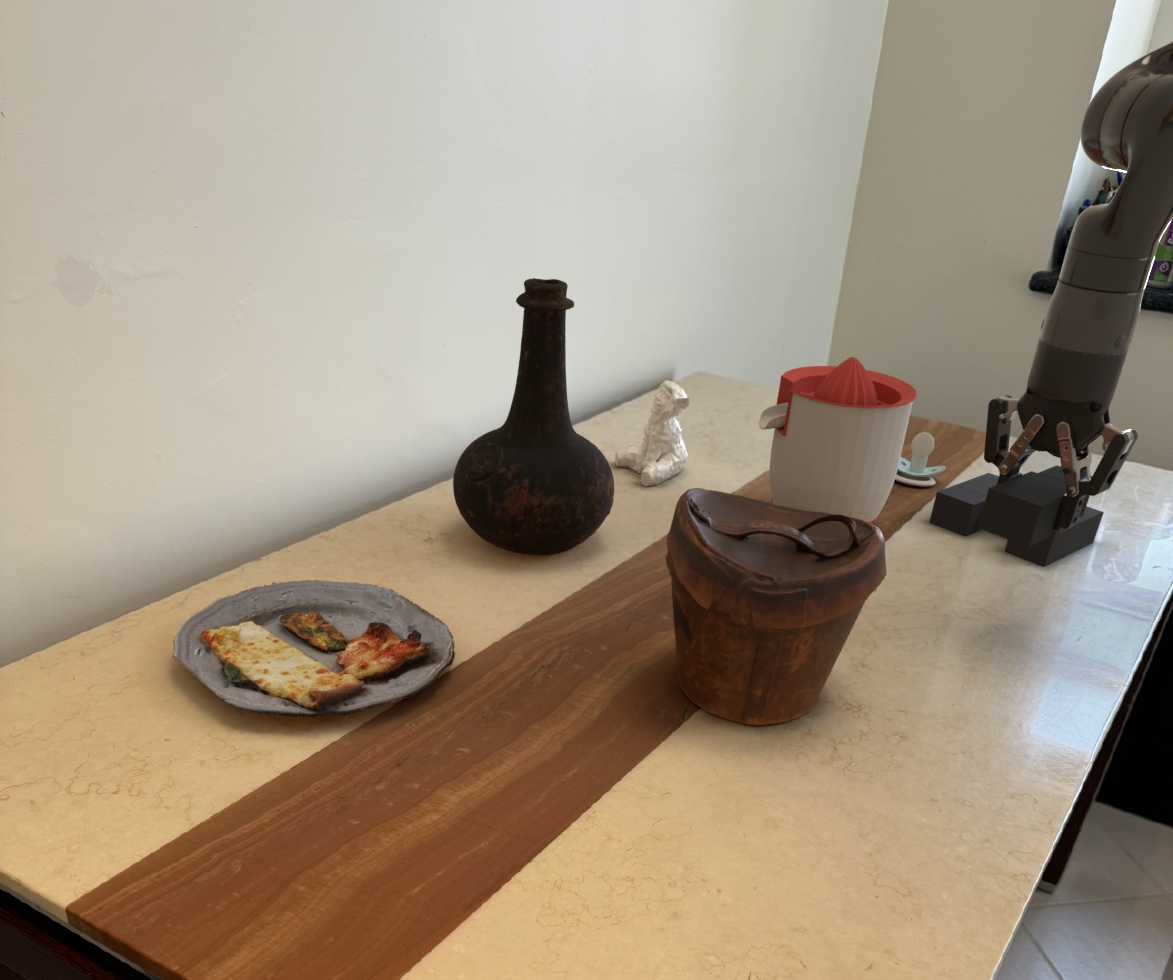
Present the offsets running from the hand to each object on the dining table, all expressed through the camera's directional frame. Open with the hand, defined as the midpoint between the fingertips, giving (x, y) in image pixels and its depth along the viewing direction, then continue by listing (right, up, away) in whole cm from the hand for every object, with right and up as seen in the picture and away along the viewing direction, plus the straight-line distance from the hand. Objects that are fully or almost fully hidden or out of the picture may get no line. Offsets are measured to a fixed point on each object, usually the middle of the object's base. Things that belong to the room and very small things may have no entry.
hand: (1031, 519), depth 107 cm
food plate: (-68, -15, -5) cm, 70 cm away
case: (-28, -17, -5) cm, 33 cm away
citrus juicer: (-15, +6, +29) cm, 33 cm away
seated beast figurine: (-34, +16, +41) cm, 55 cm away
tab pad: (+1, 0, +1) cm, 1 cm away
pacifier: (+1, +16, +44) cm, 47 cm away
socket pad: (+10, +6, +30) cm, 32 cm away
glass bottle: (-50, +2, +20) cm, 54 cm away
